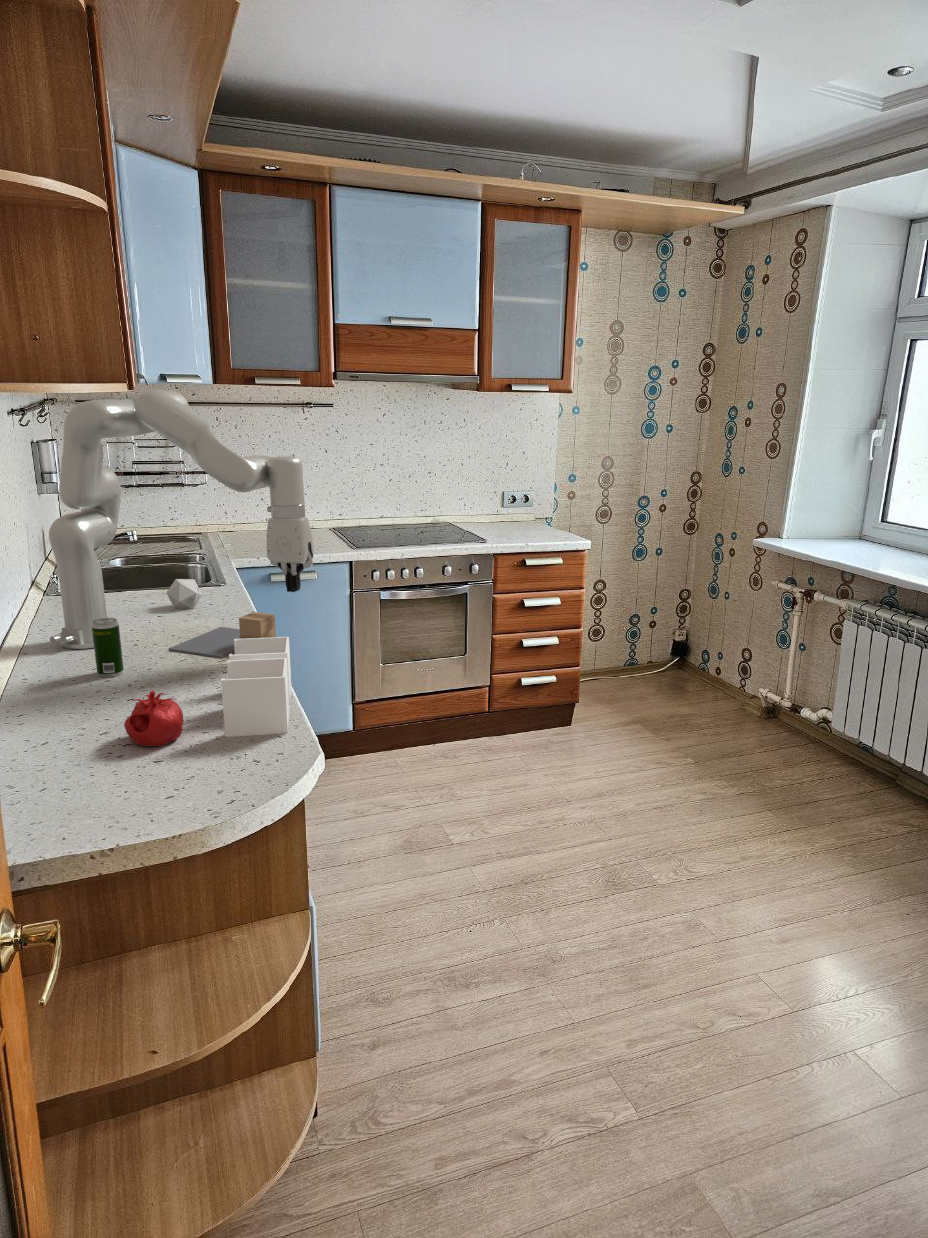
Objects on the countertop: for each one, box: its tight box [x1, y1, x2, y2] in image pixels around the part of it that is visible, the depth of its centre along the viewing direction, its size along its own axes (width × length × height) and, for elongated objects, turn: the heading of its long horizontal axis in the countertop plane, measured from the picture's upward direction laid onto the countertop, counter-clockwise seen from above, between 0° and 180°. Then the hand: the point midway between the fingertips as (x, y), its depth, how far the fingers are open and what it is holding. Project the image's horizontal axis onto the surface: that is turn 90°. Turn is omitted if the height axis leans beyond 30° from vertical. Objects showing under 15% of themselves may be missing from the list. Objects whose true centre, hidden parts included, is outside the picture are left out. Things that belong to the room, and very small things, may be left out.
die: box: [165, 578, 203, 610], centre depth 229 cm, size 8×9×10 cm
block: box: [238, 611, 277, 639], centre depth 194 cm, size 6×6×8 cm
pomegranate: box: [123, 690, 184, 747], centre depth 142 cm, size 10×10×9 cm
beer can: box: [92, 617, 124, 678], centre depth 174 cm, size 5×5×12 cm
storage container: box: [220, 636, 292, 738], centre depth 156 cm, size 25×11×11 cm, turn 10°
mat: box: [168, 626, 240, 659], centre depth 198 cm, size 20×15×1 cm
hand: (293, 590), depth 187 cm, fingers closed
